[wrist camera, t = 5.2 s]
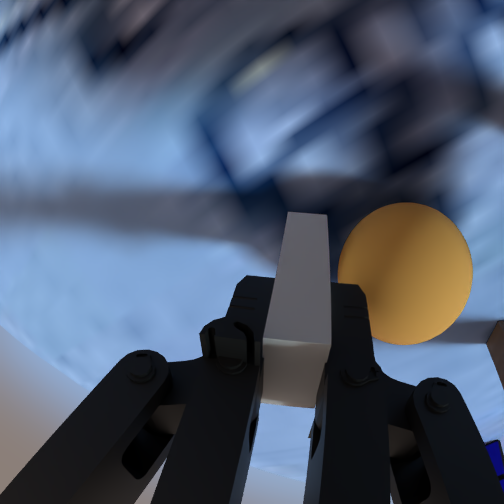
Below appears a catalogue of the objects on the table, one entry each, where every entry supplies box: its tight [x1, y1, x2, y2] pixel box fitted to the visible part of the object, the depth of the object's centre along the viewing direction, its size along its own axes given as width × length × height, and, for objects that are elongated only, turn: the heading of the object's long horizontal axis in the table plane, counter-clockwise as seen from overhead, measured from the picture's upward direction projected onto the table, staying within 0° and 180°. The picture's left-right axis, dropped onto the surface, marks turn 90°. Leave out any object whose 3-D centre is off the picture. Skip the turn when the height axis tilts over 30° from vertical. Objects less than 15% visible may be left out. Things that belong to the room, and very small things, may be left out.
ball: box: [338, 203, 473, 345], centre depth 12 cm, size 6×6×6 cm
